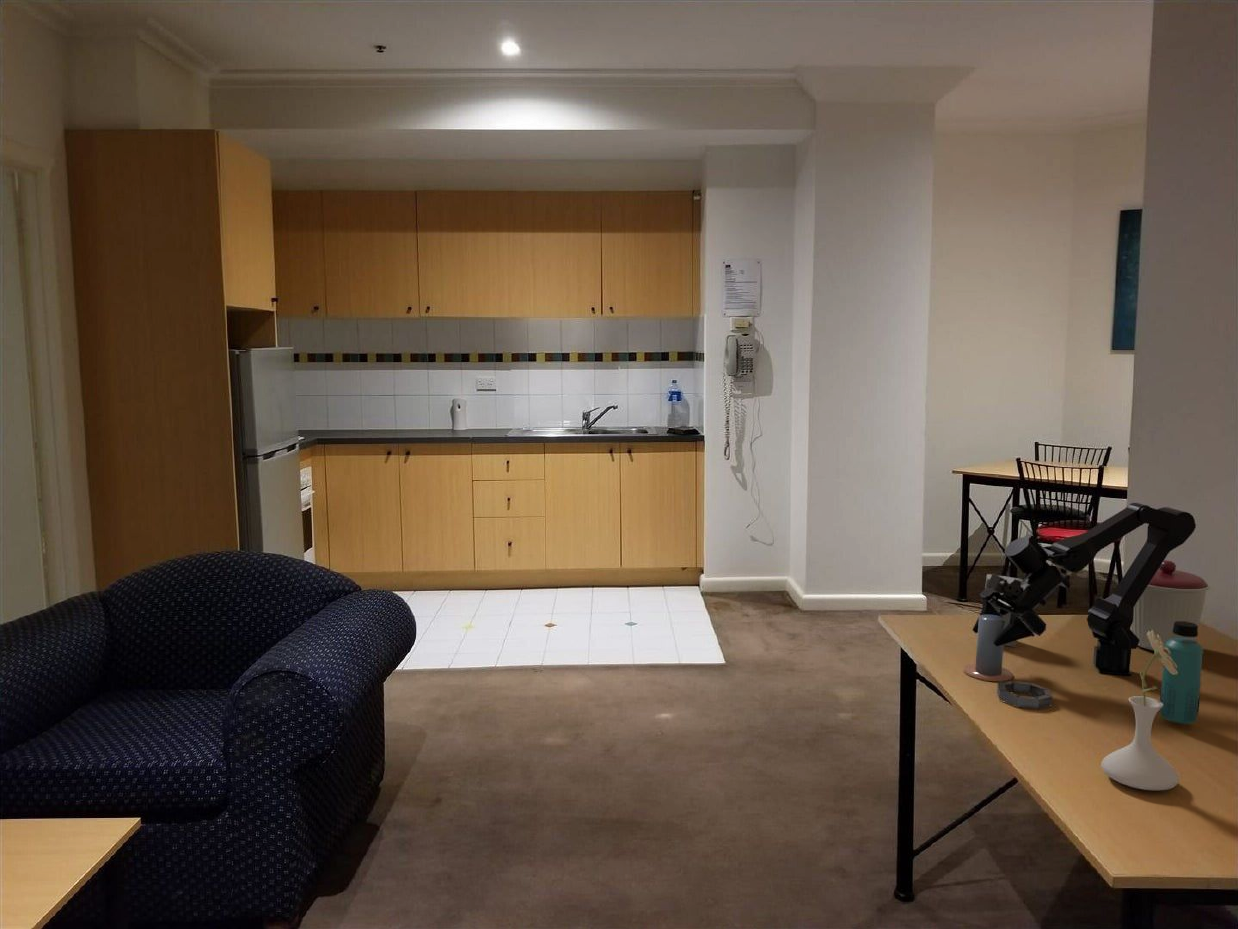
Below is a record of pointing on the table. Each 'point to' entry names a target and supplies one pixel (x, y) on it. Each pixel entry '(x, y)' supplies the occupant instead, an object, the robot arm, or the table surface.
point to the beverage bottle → (1182, 676)
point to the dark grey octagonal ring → (1023, 701)
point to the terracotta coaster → (972, 673)
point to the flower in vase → (1144, 738)
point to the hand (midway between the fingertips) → (984, 638)
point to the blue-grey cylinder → (989, 645)
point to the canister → (1168, 604)
